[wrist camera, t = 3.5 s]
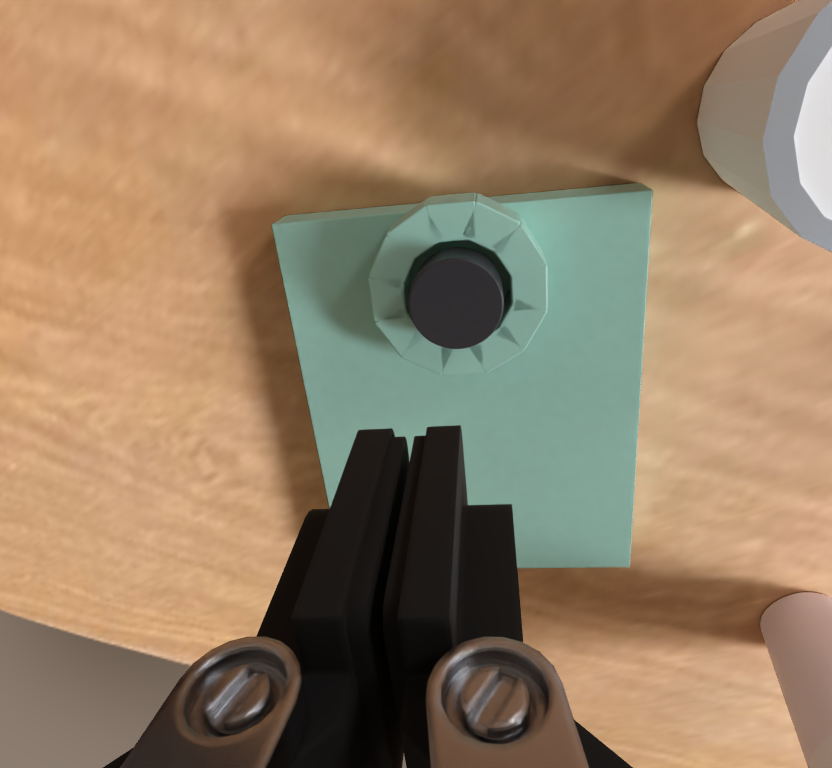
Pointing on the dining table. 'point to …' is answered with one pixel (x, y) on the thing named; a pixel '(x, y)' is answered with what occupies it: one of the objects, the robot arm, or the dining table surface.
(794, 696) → the smoothie
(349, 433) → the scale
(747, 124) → the white tapered cup
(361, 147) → the dining table surface
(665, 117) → the dining table surface
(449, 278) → the button
